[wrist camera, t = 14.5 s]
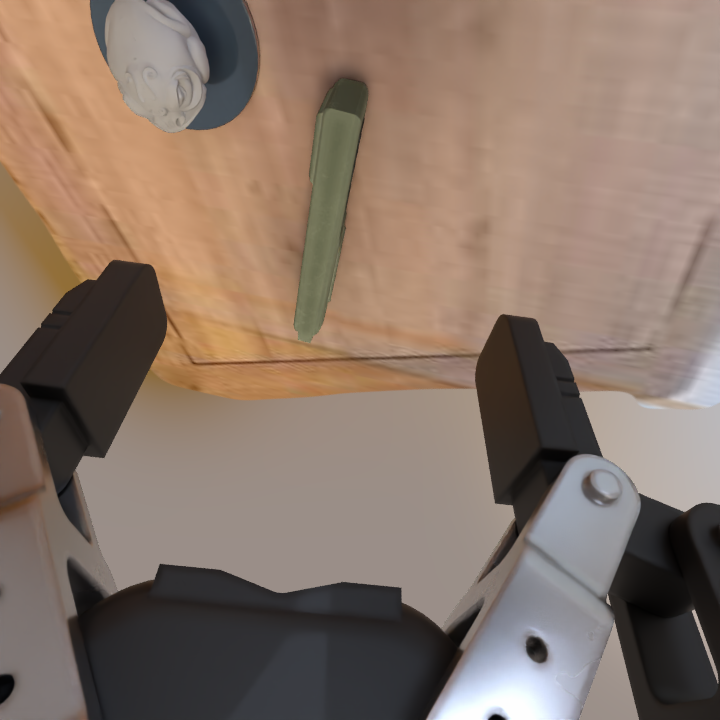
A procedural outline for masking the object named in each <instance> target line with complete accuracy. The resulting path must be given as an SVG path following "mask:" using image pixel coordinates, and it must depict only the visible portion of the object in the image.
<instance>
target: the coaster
mask: <svg viewBox="0 0 720 720" xmlns="http://www.w3.org/2000/svg"><path fill="white" fill-rule="evenodd" d="M114 1H115V0H90V10H91V19H92V24H93V29H94V33H95V36H96V39H97V42H98V45H99V47H100V50H101V52H102V55H103V57H104V59H105V61H106V62H107V64H108V61H107V46H106V43H105V23H106V17H107V14H108V12H109V9H110V7H111V5H112V4H113V3H114ZM144 1H145V2H146V1H147V0H144ZM167 1H169V2H170V3H172V4H173V5H174V6H175V7H176V8H177V9H178V11H179V12H180V13H181V14H182V15H183V16H184V17H185V18H186V19H187V20H188V21H189V22H190V23H191V25H192V26H193V28H194V29H195V31H196V32H197V34H198V36H199V38H200V41H201V42H202V43H203V45H204V47H205V50H206V56H207V59H208V63H209V79H208V81H207V82H206V83H205V84H204V85H205V87H206V89H207V90H206V98H205V102H204V105H203V107H202V109H201V110H200V112H199V113H198V114H197V116H196V117H195V118H194V120H193V121H192V122H191V123H190V124H189V125H188V127H186V129H193V130H208V129H213V128H217V127H220V126H222V125H225V124H226V123H228V122H230V121H232V120H233V119H234V118H235V117H236V116H238V115H239V114H240V113H241V111H242V110H243V109H244V108H245V106H246V105H247V103H248V102H249V100H250V99H251V97H252V94H253V92H254V90H255V87H256V83H257V79H258V73H259V61H260V54H259V43H258V38H257V33H256V29H255V25H254V22H253V19H252V16H251V13H250V11H249V8H248V6H247V4H246V2H245V0H167ZM108 66H109V65H108ZM109 68H110V67H109Z"/></svg>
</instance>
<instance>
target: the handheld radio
mask: <svg viewBox="0 0 720 720" xmlns="http://www.w3.org/2000/svg"><path fill="white" fill-rule="evenodd" d="M367 101H368V89H367V87H366V85H365V84H364V83H361V82H357V81H353V80H349V79H345V78H341V79H340V80H338V81H337V82H336V83H335V85H334V87H333V88H330V90H329V91H328V93H327V94H326V96H325V99H324V101H323V103H322V105H321V107H320V109H319V112H318V114H317V116H316V124H315V132H314V140H313V147H312V155H311V163H310V170H309V177H310V181H311V183H312V184H313V188H312V195H311V202H310V209H309V217H308V224H307V231H306V238H305V246H304V253H303V260H302V267H301V275H300V282H299V289H298V296H297V303H296V311H295V318H294V328H295V330H296V331H298V340H301V341H304V342H308V343H310V342H311V340H312V338H313V335H315V334H317V333H318V332H319V330H320V328H321V326H322V324H323V321H324V317H325V313H326V308H327V304H328V302H330V301H331V295H332V290H333V285H334V281H335V277H336V271H337V267H338V262H339V257H340V253H341V248H342V243H343V238H344V233H345V229H346V227H345V226H344V223H345V218H346V214H347V213H346V208H347V203H348V197H349V192H350V188H351V182H352V177H353V172H354V168H355V162H356V158H357V153H358V147H359V143H360V139H361V132H362V128H363V124H364V116H365V111H366V106H367Z"/></svg>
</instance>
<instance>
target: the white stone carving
mask: <svg viewBox="0 0 720 720" xmlns="http://www.w3.org/2000/svg"><path fill="white" fill-rule="evenodd" d="M105 43H106V46H107V61H108V65H109V67H110V70H111V73H112V74H113V76H114V78H115V79H116V80H117V81H118V88H119V90H120V92H121V93H122V94H123V100H124V102H125V103H126V104H127V106H128V107H129V108H130V109H131V111H133V112H134V113H135V114H136V115H138V116H141V117H144V118H147V119H148V120H149V121H150V122H151V123H152V124H154V125H155V126H156V127H157V128H159V129H161V130H163V131H165V132H168V133H175V132H180V131H182V130H184V129H185V128H186V127H188V125H189V124H190V123H191V122H192V121H193V120H194V118H195V117H196V116H197V114H198V113H199V112H200V110H201V109H202V107H203V105H204V102H205V98H206V90H207V89H206V87H205V85H204V84H205V83H206V82H207V81H208V79H209V63H208V59H207V56H206V50H205V47H204V45H203V43H202V42H201V41H200V38H199V36H198V34H197V32H196V31H195V29H194V28H193V26H192V25H191V23H190V22H189V21H188V20H187V19H186V18H185V17H184V16H183V15H182V14H181V13H180V12H179V11H178V9H177V8H176V7H175V6H174V5H173V4H172V3H170V2H169V1H167V0H147V1H146V2H145V1H144V0H115V1H114V3H113V4H112V5H111V7H110V9H109V12H108V14H107V17H106V23H105Z"/></svg>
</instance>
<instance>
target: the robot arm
mask: <svg viewBox="0 0 720 720" xmlns="http://www.w3.org/2000/svg"><path fill="white" fill-rule="evenodd" d="M166 330H167V316H166V312H165V308H164V304H163V300H162V296H161V292H160V288H159V284H158V281H157V277H156V273H155V270H154V268H153V267H152V266H151V265H149V264H142V263H135V262H127V261H120V260H113V261H111V262H110V263H109V264H108V266H107V267H106V268H105V270H104V271H103V272H102V274H101V275H100V276H99V278H98V279H97V280H89V279H88V280H86V281H84V282H83V283H81V284H80V285H78V286H76V287H75V288H73V289H72V290H70V291H68V292H67V293H66V294H65V295H64V296H63V298H62V299H61V300H60V301H59V303H58V304H57V305H56V306H55V307H54V308H53V312H52V314H51V313H49V315H48V316H47V317H46V319H45V320H44V321H43V322H42V323H41V328H37V330H36V331H35V332H34V333H33V335H32V336H31V337H30V338H29V340H28V341H27V342H26V343H25V344H24V346H23V347H22V348H21V349H20V351H19V352H18V353H17V354H16V356H15V357H14V358H13V359H12V360H11V362H10V363H9V364H8V366H7V367H6V368H5V369H4V370H3V372H2V373H1V374H0V720H579V718H580V715H581V712H582V709H583V707H584V704H585V701H586V698H587V695H588V693H589V690H590V688H591V685H592V682H593V679H594V676H595V674H596V671H597V668H598V666H599V663H600V660H601V658H602V655H603V652H604V649H605V647H606V644H607V641H608V638H609V636H610V633H611V630H612V627H613V623H614V620H615V624H616V628H617V632H618V636H619V640H620V644H621V648H622V652H623V656H624V660H625V664H626V668H627V672H628V676H629V680H630V684H631V688H632V692H633V696H634V700H635V704H636V708H637V713H638V717H639V720H720V505H717V504H713V503H701V504H698V505H696V506H694V507H693V508H691V509H689V510H688V511H686V512H683V511H680V510H678V509H675V508H673V507H670V506H668V505H666V504H663V503H661V502H659V501H656V500H654V499H651V498H648V497H646V496H644V495H642V494H640V493H638V491H637V489H636V487H635V485H634V483H633V482H632V480H631V479H630V478H629V477H628V476H627V474H626V473H625V472H624V471H623V470H622V469H620V468H619V467H618V466H617V465H615V464H614V463H612V462H611V461H609V460H607V459H605V458H603V456H602V454H601V451H600V448H599V445H598V443H597V440H596V437H595V434H594V432H593V429H592V426H591V423H590V421H589V418H588V415H587V412H586V410H585V407H584V404H583V402H582V399H581V398H579V395H580V393H579V390H578V388H577V385H576V383H574V377H573V374H572V371H571V368H570V366H569V363H568V360H567V359H566V358H565V357H564V355H563V354H562V353H561V352H560V351H559V349H558V348H557V347H556V346H555V345H554V343H549V342H544V340H543V337H542V334H541V331H540V328H539V325H538V322H537V321H536V320H535V319H534V318H527V317H520V316H512V315H505V314H502V315H501V316H500V317H499V318H498V319H497V321H496V323H495V325H494V327H493V330H492V332H491V334H490V336H489V338H488V340H487V342H486V344H485V346H484V348H483V350H482V352H481V354H480V356H479V359H478V362H477V366H476V373H475V382H476V388H477V394H478V401H479V407H480V413H481V419H482V425H483V431H484V438H485V444H486V450H487V456H488V462H489V469H490V474H491V481H492V487H493V493H494V499H495V503H497V504H505V505H513V508H514V514H515V518H514V519H513V521H512V522H511V523H510V525H509V527H508V528H507V530H506V531H505V533H504V534H503V536H502V538H501V539H500V541H499V542H498V544H497V546H496V547H495V549H494V551H493V552H492V554H491V555H490V557H489V559H488V560H487V562H486V563H485V565H484V567H483V568H482V570H481V571H480V573H479V575H478V576H477V578H476V580H475V581H474V583H473V584H472V586H471V587H470V589H469V590H468V592H467V593H466V594H465V595H464V597H463V598H462V599H461V600H460V602H459V603H458V604H457V606H456V607H455V609H454V610H453V612H452V613H451V614H450V616H449V617H448V619H447V620H446V622H445V624H444V625H443V627H442V628H440V627H439V626H438V625H436V624H435V623H434V622H433V621H432V620H430V619H429V618H428V617H426V616H425V615H424V614H422V613H420V612H419V611H417V610H416V609H414V608H412V607H410V606H408V605H406V604H404V603H402V602H401V588H398V587H388V586H378V585H367V584H357V583H347V582H341V583H337V584H331V585H325V586H320V587H315V588H310V589H304V590H299V591H293V592H288V593H276V592H273V591H271V590H268V589H266V588H264V587H261V586H259V585H256V584H254V583H251V582H249V581H246V580H244V579H242V578H239V577H237V576H234V575H232V574H229V573H227V572H224V571H221V570H216V569H205V568H196V567H186V566H175V565H165V564H160V565H159V568H158V571H157V574H156V577H155V580H150V581H146V582H143V583H140V584H136V585H133V586H130V587H128V588H125V589H123V590H121V591H118V590H117V587H116V585H115V582H114V579H113V577H112V574H111V572H110V570H109V567H108V565H107V563H106V562H105V560H104V558H103V556H102V553H101V551H100V548H99V545H98V542H97V538H96V535H95V531H94V528H93V525H92V521H91V518H90V514H89V511H88V508H87V504H86V501H85V497H84V494H83V491H82V487H81V484H80V480H79V477H78V475H77V472H76V471H75V469H76V467H77V466H78V464H79V462H80V460H81V458H82V456H90V457H99V458H104V457H105V455H106V453H107V451H108V449H109V447H110V446H111V444H112V442H113V439H114V438H115V436H116V434H117V432H118V430H119V428H120V426H121V424H122V422H123V420H124V418H125V416H126V414H127V412H128V410H129V408H130V406H131V404H132V402H133V400H134V398H135V396H136V394H137V392H138V390H139V388H140V386H141V385H142V382H143V381H144V379H145V377H146V375H147V373H148V371H149V369H150V367H151V365H152V363H153V361H154V359H155V357H156V355H157V353H158V351H159V349H160V347H161V345H162V343H163V341H164V338H165V335H166ZM607 594H608V596H609V600H610V604H611V606H610V605H609V604H607V603H606V598H607ZM694 609H695V611H696V613H697V616H698V619H699V621H700V624H701V627H702V630H703V632H704V635H705V638H706V641H707V644H708V646H709V649H710V652H711V655H712V657H713V660H714V663H715V666H716V669H717V673H718V679H719V683H717V680H716V677H715V675H714V672H713V669H712V666H711V664H710V661H709V658H708V655H707V652H706V650H705V647H704V644H703V641H702V638H701V636H700V633H699V630H698V627H697V625H696V622H695V619H694V616H693V613H692V610H694Z"/></svg>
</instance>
